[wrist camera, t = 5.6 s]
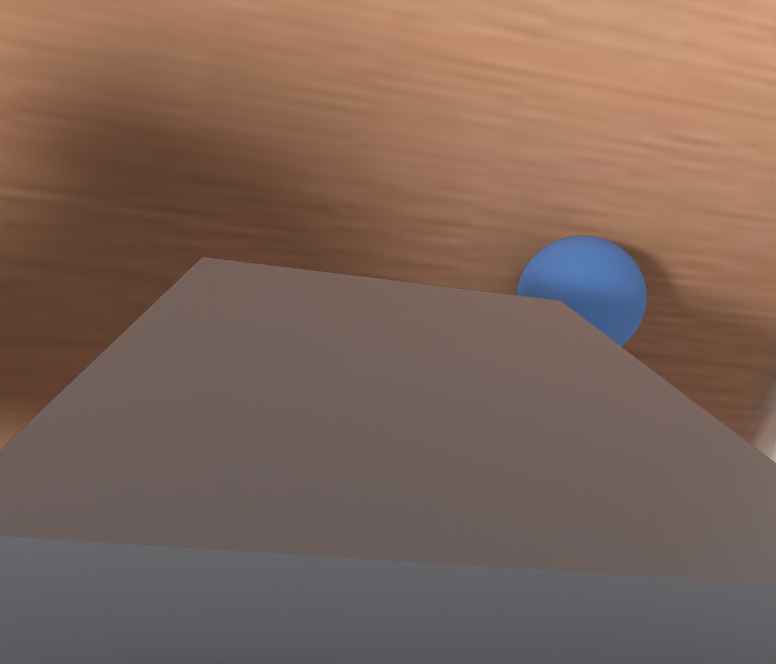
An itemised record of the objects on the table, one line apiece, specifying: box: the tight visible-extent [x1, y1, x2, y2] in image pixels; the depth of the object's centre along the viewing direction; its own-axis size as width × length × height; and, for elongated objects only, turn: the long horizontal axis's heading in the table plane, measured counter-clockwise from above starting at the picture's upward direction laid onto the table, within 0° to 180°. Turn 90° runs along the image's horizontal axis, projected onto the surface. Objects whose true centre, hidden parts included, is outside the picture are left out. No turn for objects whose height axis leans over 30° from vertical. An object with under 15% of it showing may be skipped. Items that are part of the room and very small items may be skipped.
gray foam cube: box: [0, 257, 776, 664], centre depth 10 cm, size 8×8×9 cm
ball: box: [517, 236, 647, 346], centre depth 24 cm, size 5×5×5 cm
